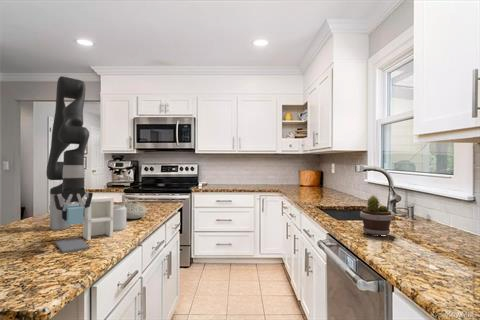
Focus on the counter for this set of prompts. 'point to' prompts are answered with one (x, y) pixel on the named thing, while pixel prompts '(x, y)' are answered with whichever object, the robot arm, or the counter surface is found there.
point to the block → (74, 214)
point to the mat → (71, 245)
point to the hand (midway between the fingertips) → (73, 219)
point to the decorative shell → (134, 209)
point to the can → (119, 217)
